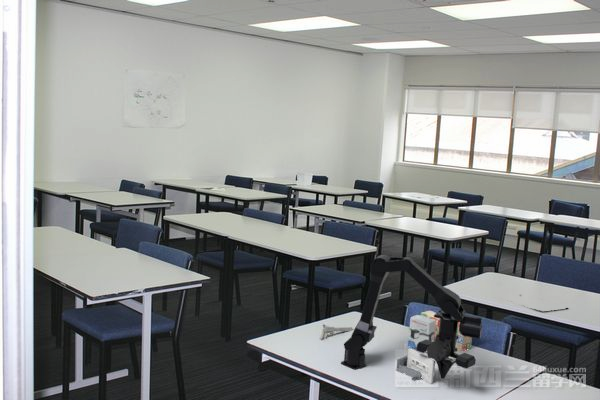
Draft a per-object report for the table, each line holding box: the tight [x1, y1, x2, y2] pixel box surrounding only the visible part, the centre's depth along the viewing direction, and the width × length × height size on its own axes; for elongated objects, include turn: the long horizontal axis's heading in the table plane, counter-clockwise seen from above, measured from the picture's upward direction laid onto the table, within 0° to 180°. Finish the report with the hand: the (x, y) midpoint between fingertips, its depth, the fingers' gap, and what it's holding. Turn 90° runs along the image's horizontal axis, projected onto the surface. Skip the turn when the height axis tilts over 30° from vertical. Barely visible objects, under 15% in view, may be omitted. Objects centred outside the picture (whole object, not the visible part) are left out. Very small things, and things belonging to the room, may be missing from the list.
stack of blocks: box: [419, 310, 473, 353], centre depth 233 cm, size 21×6×12 cm, turn 39°
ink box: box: [407, 314, 436, 349], centre depth 223 cm, size 8×5×12 cm, turn 47°
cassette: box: [407, 348, 436, 384], centre depth 197 cm, size 12×2×8 cm, turn 32°
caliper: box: [319, 323, 355, 341], centre depth 231 cm, size 20×1×6 cm, turn 137°
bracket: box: [395, 355, 421, 382], centre depth 199 cm, size 9×9×4 cm
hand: (442, 378), depth 191 cm, fingers closed
